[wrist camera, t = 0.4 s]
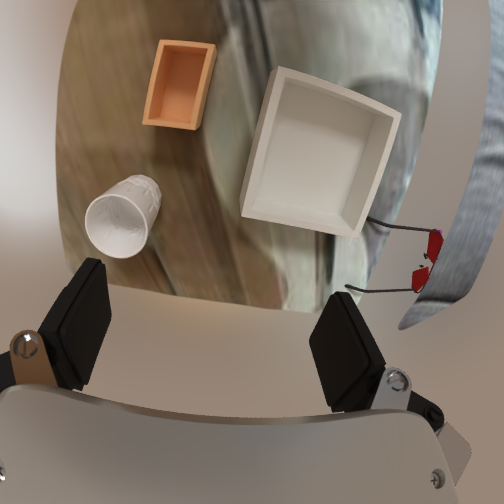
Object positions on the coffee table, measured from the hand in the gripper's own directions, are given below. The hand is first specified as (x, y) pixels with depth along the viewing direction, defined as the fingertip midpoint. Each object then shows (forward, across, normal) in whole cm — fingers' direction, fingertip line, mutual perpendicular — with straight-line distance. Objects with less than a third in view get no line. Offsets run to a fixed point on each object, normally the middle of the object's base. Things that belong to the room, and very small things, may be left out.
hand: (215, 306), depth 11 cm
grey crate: (+27, -11, -4) cm, 30 cm away
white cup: (+28, +11, +7) cm, 31 cm away
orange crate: (+28, +7, -9) cm, 30 cm away
